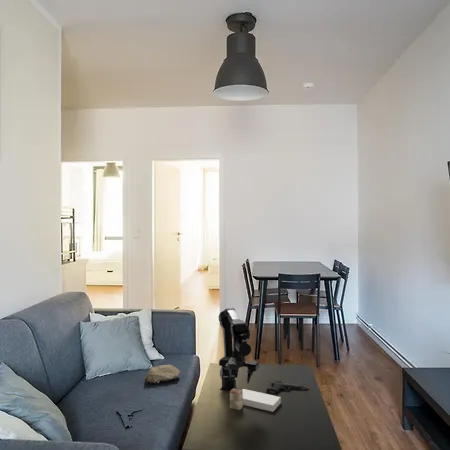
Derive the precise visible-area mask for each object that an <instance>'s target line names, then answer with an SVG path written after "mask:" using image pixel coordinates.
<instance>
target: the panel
mask: <svg viewBox="0 0 450 450" xmlns="http://www.w3.org/2000/svg"><path fill="white" fill-rule="evenodd" d="M242 390H243V406H248V407H252V408H255V409H258V410H259V409H260V410H263V411H267V412H275V410H276V409H277V408H278V407H279V406H280V405H281V404H282V403H281V402H282V399H281V398H282V397H281V396H278V395H269V394H266V393H264V392H260V391H255V390H251V389H247V388H243V389H242Z"/></svg>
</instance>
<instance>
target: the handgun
mask: <svg viewBox="0 0 450 450" xmlns="http://www.w3.org/2000/svg"><path fill="white" fill-rule="evenodd" d="M309 389H310V387H309V386H306V385H302V384H294V383H286V382H282V380H278V381H276V380H275V381H272V382H271V385H270V387H268V388H266V392H265V394H269V395H274V396H278V395H279V391H282V390H283V391H289V392H290V391H291V390H295V391H297V390H298V391H307V390H309Z"/></svg>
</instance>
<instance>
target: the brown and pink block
mask: <svg viewBox="0 0 450 450" xmlns="http://www.w3.org/2000/svg"><path fill="white" fill-rule="evenodd" d="M243 406H244V405H243V389H239V388H235V389H234V388H233V389H232V390H231V391H229V409H233V410H236V411H241V409H243Z"/></svg>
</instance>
